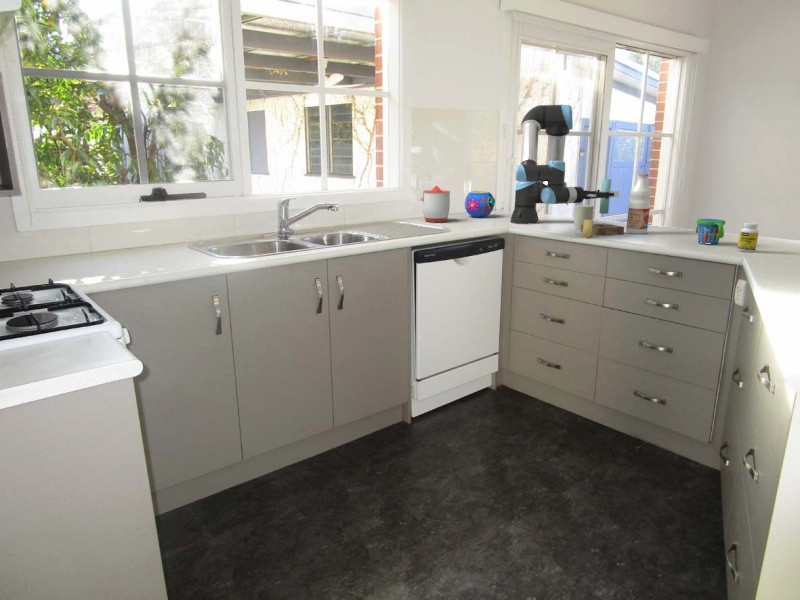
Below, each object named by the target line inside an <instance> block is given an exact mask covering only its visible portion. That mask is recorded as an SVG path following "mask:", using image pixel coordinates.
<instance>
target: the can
mask: <svg viewBox="0 0 800 600" xmlns="http://www.w3.org/2000/svg"><path fill="white" fill-rule="evenodd" d="M594 208H595V207H594V205H590V204H589V205H588V204H576V205H575V206H574V221H573V229H574V228H575V229H574V230H581V225H583V222H584V220H585V219H590V220H593V219H594V218H593V217H594Z"/></svg>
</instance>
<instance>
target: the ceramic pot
mask: <svg viewBox="0 0 800 600" xmlns="http://www.w3.org/2000/svg"><path fill="white" fill-rule="evenodd" d="M495 203H496V198H494V196H493V195H492V193H491V192H490V191H486V190H485V191H484V190H482V191H479V190H473V191H470V192H468V193H467V195H466V197H465V200H464V209H465V211H466V213H467V214H468V215H470V216H471V217H474V218H486V217H487V216H489V215H491V213H492V212H493V210H494V208H495Z"/></svg>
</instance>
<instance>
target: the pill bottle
mask: <svg viewBox="0 0 800 600" xmlns="http://www.w3.org/2000/svg"><path fill="white" fill-rule="evenodd" d="M758 225H759V224H758V223H757V222H744V223H743V228H741V229H740V232H739V238H738V244H737V250H739V252H742V251H744V252H743V253H754V252H756V249H757V245H758V244H757V243H758V238H759V237H758V236H759V232H760V231H759V229H757V228H758Z"/></svg>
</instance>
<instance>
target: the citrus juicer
mask: <svg viewBox="0 0 800 600" xmlns="http://www.w3.org/2000/svg"><path fill="white" fill-rule="evenodd" d="M422 194H423V196H421V197H420V198H419V201H420V202H422V212H423V217H424V218H423V219H424V220H425V222H428V223H444V222H447V219H448V217H449V213H450V203H451V202H450V200H451V199H450V196H451V191H450V190H443V189H441V188H440V187H439V186H438V185H435V186H434V187H433V188H432V189H431V190H430V189H429V190H423V193H422Z"/></svg>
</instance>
